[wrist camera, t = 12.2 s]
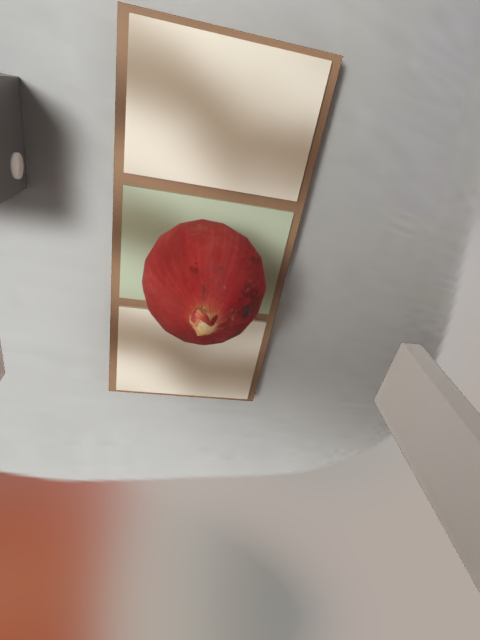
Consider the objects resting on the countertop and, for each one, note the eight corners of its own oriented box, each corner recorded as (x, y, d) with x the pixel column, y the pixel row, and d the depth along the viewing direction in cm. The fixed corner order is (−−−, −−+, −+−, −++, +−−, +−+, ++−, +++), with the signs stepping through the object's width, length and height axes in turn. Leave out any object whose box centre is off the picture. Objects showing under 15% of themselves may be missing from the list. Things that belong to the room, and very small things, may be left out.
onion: (266, 215, 21) (301, 276, 14) (240, 307, 24) (260, 395, 17) (158, 191, 20) (139, 245, 13) (144, 290, 23) (123, 378, 16)
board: (121, 5, 17) (116, 0, 16) (336, 57, 19) (344, 55, 18) (111, 381, 27) (108, 392, 26) (251, 391, 29) (253, 403, 28)
